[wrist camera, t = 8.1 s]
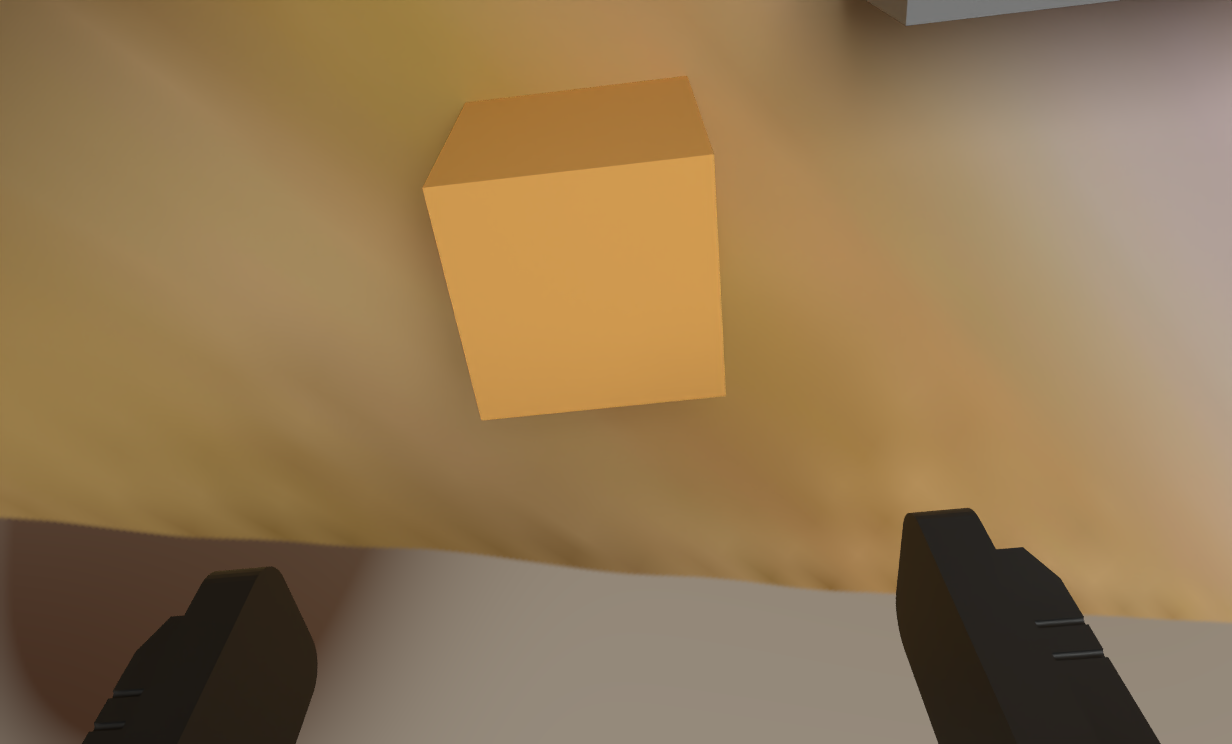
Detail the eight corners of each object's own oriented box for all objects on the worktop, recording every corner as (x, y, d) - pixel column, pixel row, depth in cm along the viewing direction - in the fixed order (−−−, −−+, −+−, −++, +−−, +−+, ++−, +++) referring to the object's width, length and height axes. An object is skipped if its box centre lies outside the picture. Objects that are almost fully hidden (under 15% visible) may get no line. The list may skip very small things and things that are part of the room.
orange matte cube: (506, 296, 24) (481, 420, 19) (466, 101, 21) (422, 188, 16) (700, 275, 24) (726, 395, 19) (687, 75, 21) (714, 154, 16)
